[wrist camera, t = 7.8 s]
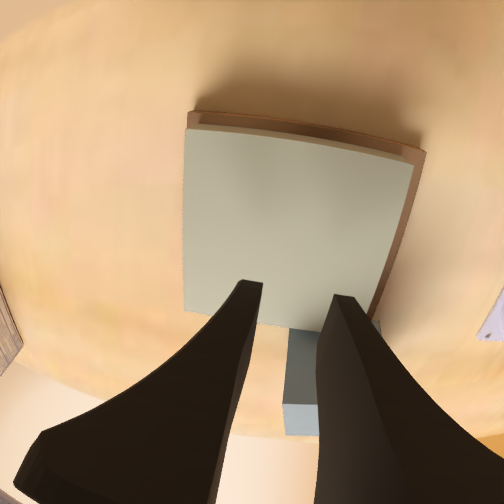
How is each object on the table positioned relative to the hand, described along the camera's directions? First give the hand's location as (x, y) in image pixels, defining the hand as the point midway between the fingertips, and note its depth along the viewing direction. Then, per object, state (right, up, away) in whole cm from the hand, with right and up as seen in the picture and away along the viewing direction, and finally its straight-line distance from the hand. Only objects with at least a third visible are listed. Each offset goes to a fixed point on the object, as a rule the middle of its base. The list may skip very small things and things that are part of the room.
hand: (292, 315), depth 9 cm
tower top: (0, +3, +4) cm, 5 cm away
